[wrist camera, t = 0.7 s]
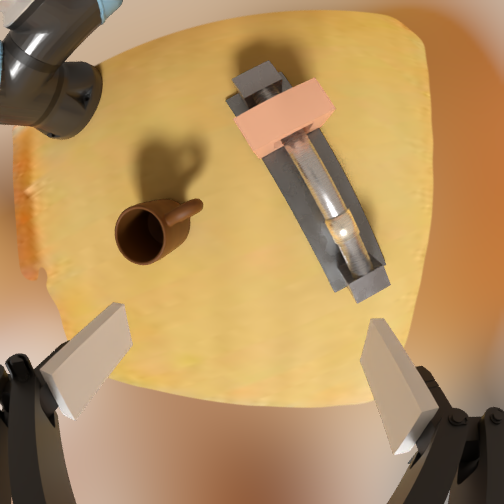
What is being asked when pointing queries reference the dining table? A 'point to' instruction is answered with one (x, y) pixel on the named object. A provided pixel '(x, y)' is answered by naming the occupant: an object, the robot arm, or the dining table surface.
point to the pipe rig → (317, 194)
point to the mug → (154, 229)
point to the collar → (285, 116)
